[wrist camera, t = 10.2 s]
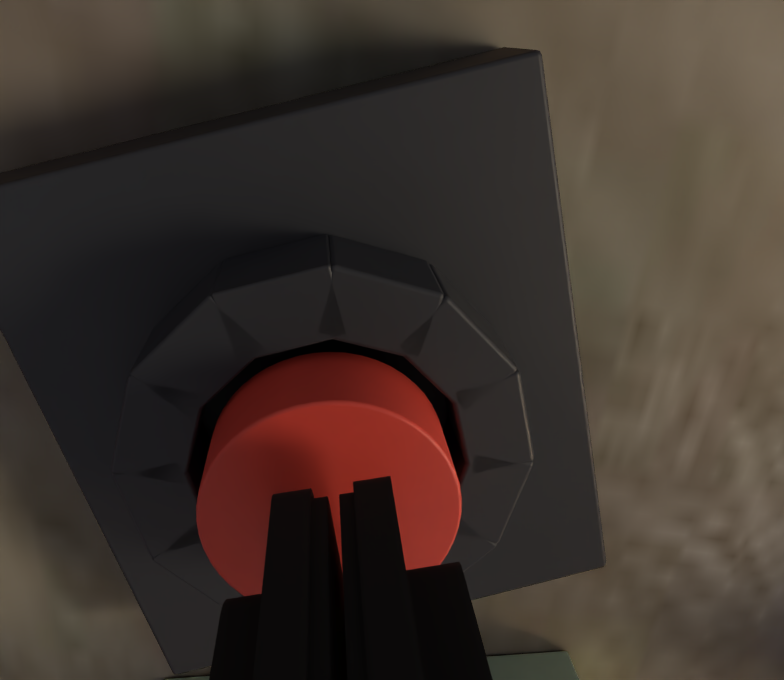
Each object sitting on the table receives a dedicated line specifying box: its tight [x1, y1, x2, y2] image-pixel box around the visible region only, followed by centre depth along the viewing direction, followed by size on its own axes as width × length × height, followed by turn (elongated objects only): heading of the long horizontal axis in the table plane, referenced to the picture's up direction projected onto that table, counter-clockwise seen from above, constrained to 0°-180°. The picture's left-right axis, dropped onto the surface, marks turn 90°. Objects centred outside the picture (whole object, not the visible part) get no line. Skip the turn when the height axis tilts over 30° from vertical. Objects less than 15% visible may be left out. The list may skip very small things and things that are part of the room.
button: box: [196, 352, 462, 596], centre depth 11 cm, size 4×4×2 cm
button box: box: [0, 47, 606, 674], centre depth 14 cm, size 11×10×4 cm
